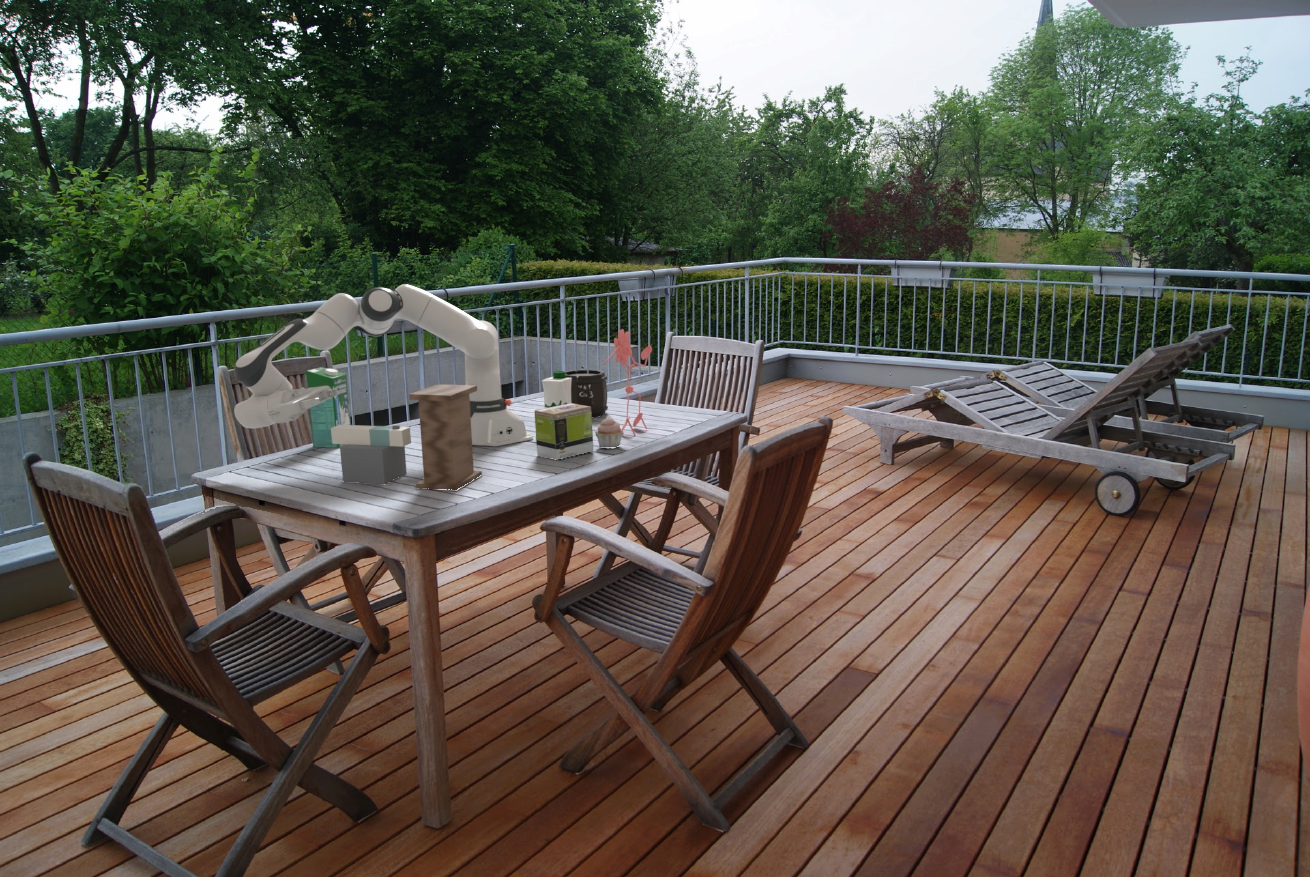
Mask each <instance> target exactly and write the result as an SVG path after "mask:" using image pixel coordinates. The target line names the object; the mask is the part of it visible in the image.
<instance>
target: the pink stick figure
mask: <svg viewBox="0 0 1310 877" xmlns="http://www.w3.org/2000/svg"><path fill="white" fill-rule="evenodd" d="M617 332H618V333H617V338H616V337H614V339H613V344H614V347H615V348H614V351H612V352H611V354H610V356H608V358H607V359H606V360H605V362H604V363H603V365H605V366H606V364H607V362H608V361H609V360H610V359H611V358H612V357H613V356H614V354H616V357H615V362H616V363H621V366H622V367H625V366H626V367H627V386H625V390H624V391H625V392H626V397H627V407H626V408H627V409H626V419H625V422H624V423H623V425H622V426H621V427H622V428H620V429H621V431H623V432H624V430H625V428H626V427H627V425H629V427H630V430H631V431H632V434H633V435H634V434H636V432H635V431H634V429H633V428H636V426H637V425H638V424H639V423H640V422H642V424H643V426H644V429H645V430H646V429H648V427H647V425H646V423H645V421H644V419H643V412H641V397H642V396H641V393H639V392H637V391H634V387H633V386H632V385H629V384H630V371H631V370H632V368H634V367H635V366H641V367H644V368H645V367H646V366H647V362H648V358H649V356H650V354H652V352H653V347H652V345H650V344H649V345H648V346H645V348H644V349H643V350H642V352H640V358H641V360H642V361H643V360H645V361H644V364H642V363H638V362H636V361H635V359H634V357H633V351H632V347H631V342H630V336H631V335H630V331H626V332H625V330H624V329H623V328H622V329H619V330H618V331H617ZM629 357H630V358H631V360H632V362H633V363H631V365H629V364H628V359H629ZM633 393H634V394H636V395H638V396H639V402H638V403H639V406H638V414H637V415H636V417H635V418H634V420H633V424H631V422H630V417H629V416H628V415H629V401H630V399H629V395H630V394H633ZM632 426H633V427H632ZM653 427H656V425H653Z"/></svg>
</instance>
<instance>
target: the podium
mask: <svg viewBox="0 0 1310 877" xmlns="http://www.w3.org/2000/svg"><path fill="white" fill-rule="evenodd" d="M339 452H340V462H341V474H342V475H341V476H342V482H343V481H344V482H343V483H346V482H359V483H358V484H363V483H367V485H379V484H386V485H388V484H389V483H388V482H390V483H392V482H393V481H392V480H393V479H396V478H397V479H399V478H401V477H403V476H405V475H407V461H406V460H407V458H406V446H403V447H400V446H371V445H352V444H346V445H343V446H341V447H339ZM402 475H403V476H402ZM398 477H399V478H398ZM397 479H396V480H397ZM391 481H392V482H391ZM387 483H388V484H387Z"/></svg>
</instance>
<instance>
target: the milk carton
mask: <svg viewBox="0 0 1310 877" xmlns="http://www.w3.org/2000/svg"><path fill="white" fill-rule="evenodd" d="M305 374H306V386H307V388H313V387H320V386H329V387H330V388H331V390H333V389H337V390H338V393H339V394H338V395H337V396H333V397H332V398H330V399H328V400H326V401H324V402H322V403H320V404H318V405H316V406H313V407H311V408H309V416H310V427H311V437H312V438H311V439H312V447H313V448H333V449H336V448H337V449H340V447H342V446H345V445H347V444H332V435H331V428H332V427H335V426H338V425H352V423H351V422H352V421H351V410H350V398H349V388H348V387H349V386H348V377H347V376H348V375H347V373H344V372H341V371H339V370H338V369H335V368H327V367H324V366H320V367H315V368H312V369H309V370H305Z"/></svg>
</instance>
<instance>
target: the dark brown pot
mask: <svg viewBox="0 0 1310 877" xmlns="http://www.w3.org/2000/svg"><path fill="white" fill-rule="evenodd" d="M564 372H565V377H568V378H572V380H571V403H572V404H578V405H584V406H590V407H591V413H592V417H595V418H599V417H598V416H600V417H603V416H604V415H605V414H606V411H608V409H609V406H608V386H607V384H608V383H607V380H608V376H607V375H605V372H604V371H602V370H600V369H599V370H598V369H589V370H588V369H577V370H574V369H572V370H567V371H564ZM602 415H603V416H602Z"/></svg>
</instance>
